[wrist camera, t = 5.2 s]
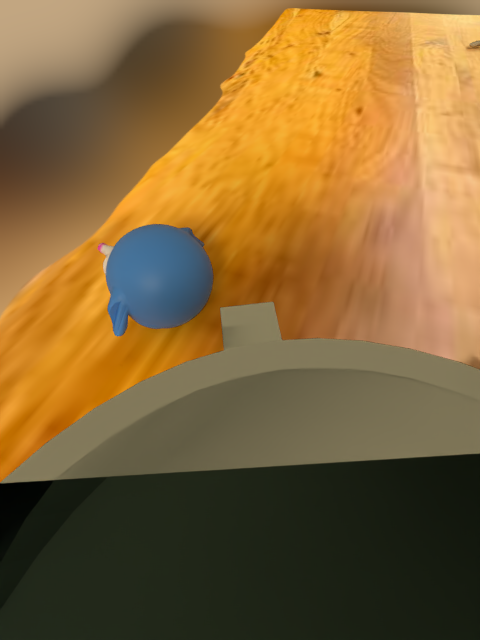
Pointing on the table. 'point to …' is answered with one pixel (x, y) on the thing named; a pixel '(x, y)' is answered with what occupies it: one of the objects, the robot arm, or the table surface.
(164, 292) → the blue mole toy
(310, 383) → the grey domed cup
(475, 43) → the decorative turtle
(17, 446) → the table surface
